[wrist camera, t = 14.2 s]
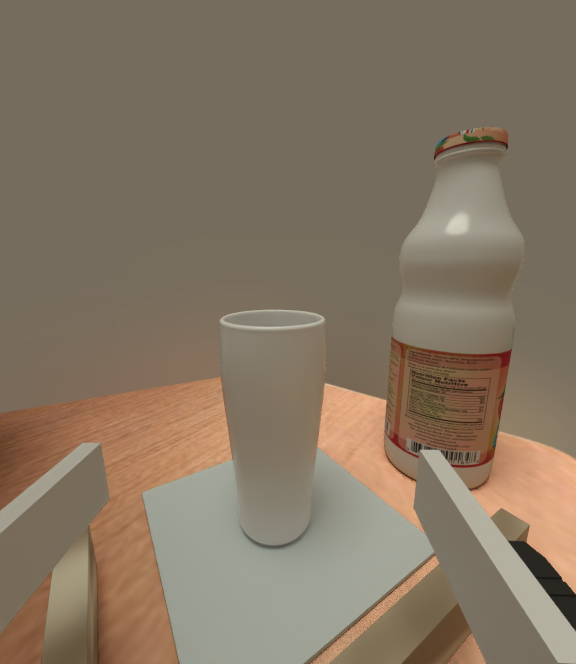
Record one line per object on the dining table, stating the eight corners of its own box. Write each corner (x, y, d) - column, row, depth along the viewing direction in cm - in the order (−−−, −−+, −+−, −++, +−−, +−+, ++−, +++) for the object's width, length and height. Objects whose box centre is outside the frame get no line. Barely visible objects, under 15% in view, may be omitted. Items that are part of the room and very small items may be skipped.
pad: (142, 495, 25) (141, 492, 25) (301, 436, 33) (301, 434, 33) (200, 757, 12) (199, 752, 12) (439, 550, 20) (440, 546, 20)
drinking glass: (323, 490, 25) (328, 310, 22) (318, 569, 18) (324, 329, 15) (244, 480, 26) (238, 308, 23) (213, 553, 19) (198, 325, 16)
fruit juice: (366, 438, 33) (383, 155, 27) (440, 427, 35) (472, 163, 29) (422, 503, 24) (468, 100, 18) (517, 483, 26) (587, 118, 20)
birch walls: (67, 579, 18) (57, 531, 17) (352, 452, 30) (353, 420, 30) (20, 1184, 6) (-18, 1114, 5) (519, 572, 19) (529, 524, 18)
